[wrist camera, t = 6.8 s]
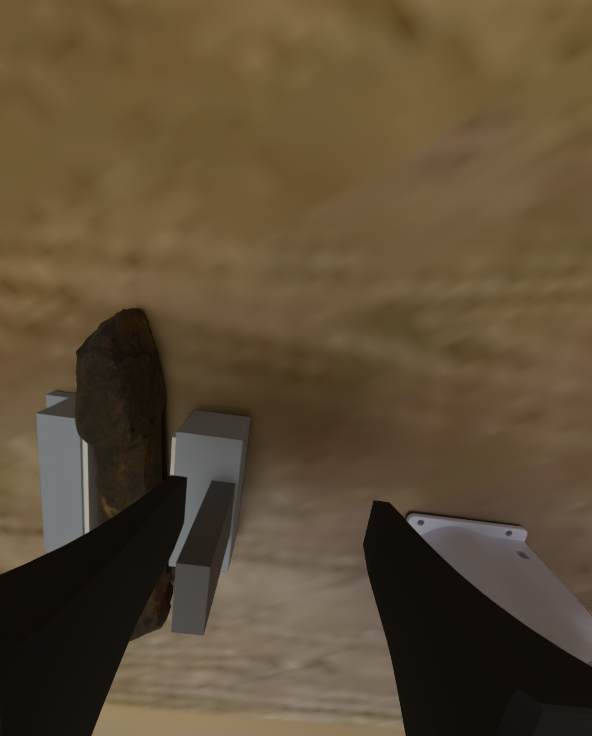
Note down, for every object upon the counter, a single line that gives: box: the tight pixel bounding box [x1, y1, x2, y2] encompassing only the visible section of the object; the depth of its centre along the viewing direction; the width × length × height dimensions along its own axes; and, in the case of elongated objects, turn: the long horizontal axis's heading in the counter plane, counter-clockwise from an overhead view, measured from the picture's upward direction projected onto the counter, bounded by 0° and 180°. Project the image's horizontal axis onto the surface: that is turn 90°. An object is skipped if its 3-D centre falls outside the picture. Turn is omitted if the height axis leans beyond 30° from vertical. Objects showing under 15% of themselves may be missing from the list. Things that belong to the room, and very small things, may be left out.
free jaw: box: [169, 410, 251, 635], centre depth 18 cm, size 4×10×10 cm, turn 172°
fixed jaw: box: [36, 391, 99, 552], centre depth 21 cm, size 4×10×4 cm, turn 172°
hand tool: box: [75, 308, 173, 641], centre depth 20 cm, size 23×5×6 cm, turn 173°
